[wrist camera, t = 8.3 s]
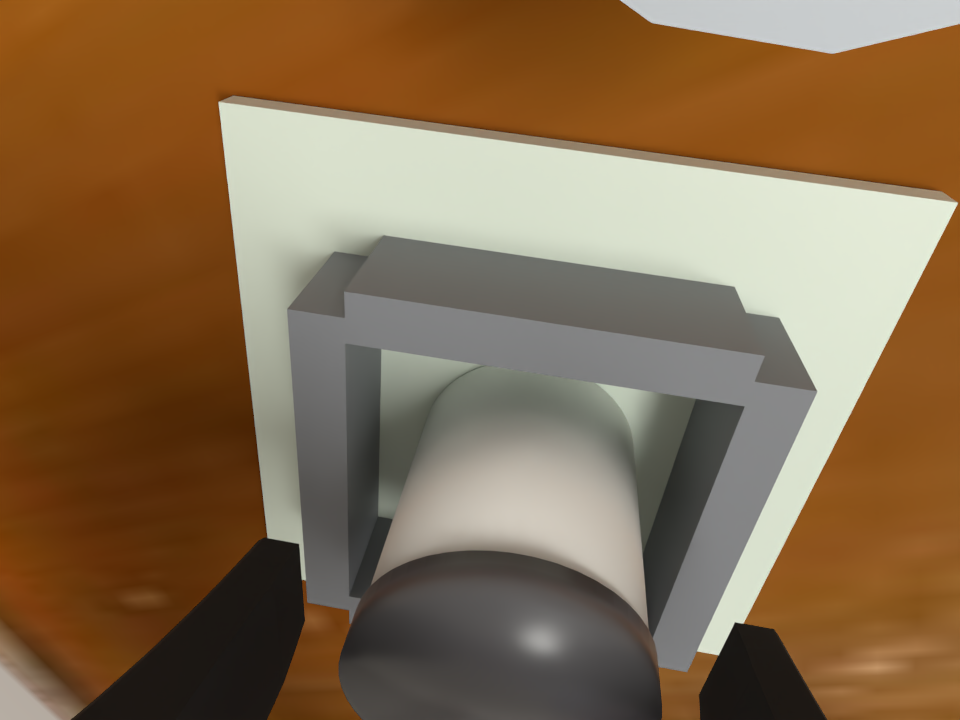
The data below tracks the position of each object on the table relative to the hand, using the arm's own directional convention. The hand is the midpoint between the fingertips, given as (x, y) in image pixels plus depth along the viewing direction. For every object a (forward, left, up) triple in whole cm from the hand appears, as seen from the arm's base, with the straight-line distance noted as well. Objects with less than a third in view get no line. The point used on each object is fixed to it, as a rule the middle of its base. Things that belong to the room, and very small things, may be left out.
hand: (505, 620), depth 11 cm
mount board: (0, 0, -5) cm, 5 cm away
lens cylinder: (0, 0, -5) cm, 5 cm away
